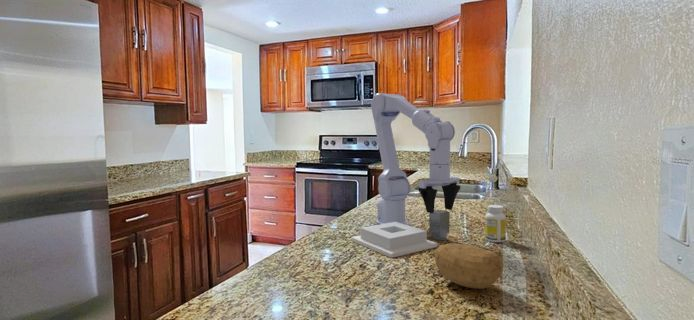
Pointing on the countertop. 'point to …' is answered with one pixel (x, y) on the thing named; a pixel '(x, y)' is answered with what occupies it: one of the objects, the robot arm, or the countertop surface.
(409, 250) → the bracket board
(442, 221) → the grey tall block
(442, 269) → the potato
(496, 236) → the supplement bottle
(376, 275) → the countertop surface
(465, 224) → the countertop surface
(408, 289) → the countertop surface
